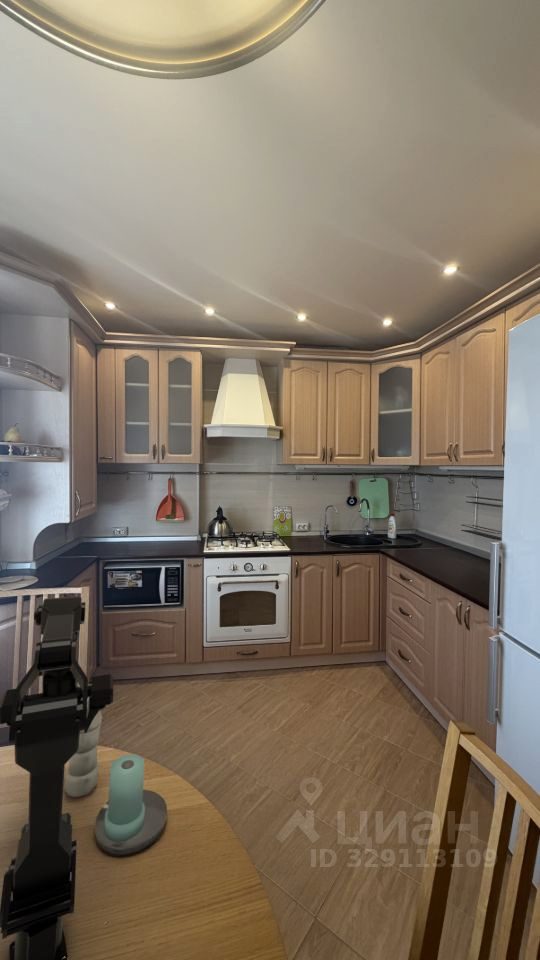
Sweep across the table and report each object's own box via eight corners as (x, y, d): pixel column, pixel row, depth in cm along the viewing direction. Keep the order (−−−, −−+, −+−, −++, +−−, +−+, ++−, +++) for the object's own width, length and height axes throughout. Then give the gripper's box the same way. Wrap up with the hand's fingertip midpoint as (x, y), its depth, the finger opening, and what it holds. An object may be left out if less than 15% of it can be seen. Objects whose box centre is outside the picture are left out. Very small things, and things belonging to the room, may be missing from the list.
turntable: (177, 828, 75) (177, 821, 75) (104, 864, 67) (105, 856, 67) (153, 785, 85) (153, 779, 85) (87, 812, 78) (88, 805, 78)
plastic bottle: (56, 797, 83) (62, 700, 83) (81, 775, 89) (86, 685, 90) (81, 806, 81) (87, 706, 81) (104, 783, 87) (110, 690, 88)
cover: (149, 829, 73) (152, 768, 73) (109, 848, 69) (113, 783, 69) (137, 804, 79) (140, 747, 79) (99, 820, 75) (103, 760, 75)
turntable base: (174, 835, 75) (175, 828, 75) (105, 869, 68) (106, 862, 68) (151, 793, 85) (152, 787, 85) (89, 819, 78) (89, 813, 78)
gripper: (113, 633, 85) (110, 698, 87) (10, 645, 77) (10, 716, 80) (114, 664, 75) (111, 737, 77) (-4, 681, 67) (-3, 762, 70)
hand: (59, 736), depth 76 cm, fingers open, 9 cm apart
